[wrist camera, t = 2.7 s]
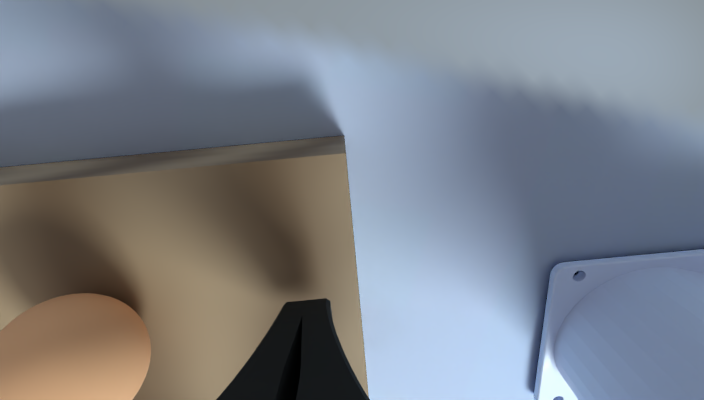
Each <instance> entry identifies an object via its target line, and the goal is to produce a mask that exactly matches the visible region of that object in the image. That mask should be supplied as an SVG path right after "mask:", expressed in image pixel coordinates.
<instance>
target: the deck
mask: <svg viewBox="0 0 704 400" xmlns="http://www.w3.org/2000/svg"><path fill="white" fill-rule="evenodd" d="M78 293H94V294H100V295H106V296H109V297H112V298H115V299H118V300H120V301H122V302H123V303H125V304H127V305H128V306H129V307H131V308H132V309H133V310H134V311H135V312H136V313H137V314H138V315H139V316H140V318H141V319H142V321H143V322H144V324H145V326H146V328H147V331H148V334H149V338H150V343H151V358H150V364H149V368H148V371H147V374H146V377H145V379H144V381H143V383H142V385H141V387H140V389H139V391H138V392H137V394H136V395H135V397H134V398H133V400H216V399H217V398H218V397H219V396H220V395H221V393H222V392H223V391H224V390H225V389H226V387H227V386H228V385H229V384H230V383H231V381H232V380H233V379H234V378H235V376H236V375H237V374H238V372H239V371H240V370H241V369H242V367H243V366H244V365H245V363H246V362H247V361H248V359H249V358H250V357H251V355H252V354H253V353H254V351H255V350H256V348H257V347H258V345H259V344H260V342H261V341H262V339H263V338H264V336H265V335H266V333H267V332H268V330H269V329H270V327H271V326H272V324H273V322H274V321H275V319H276V317H277V316H278V314H279V312H280V311H281V309H282V307H283V306H284V304H285V303H286V302H292V301H303V300H313V299H323V298H327V299H328V300H329V301H330V303H331V310H332V318H333V323H334V327H335V330H336V333H337V336H338V338H339V341H340V343H341V346H342V348H343V351H344V353H345V355H346V357H347V359H348V361H349V363H350V366H351V368H352V370H353V372H354V373H355V375H356V377H357V379H358V381H359V383H360V384H361V386H362V388H363V389H364V391H365V393H366V394H367V396H368V385H367V374H366V363H365V352H364V342H363V331H362V320H361V310H360V299H359V288H358V278H357V267H356V256H355V246H354V235H353V225H352V214H351V203H350V193H349V182H348V171H347V161H346V150H345V139H344V136H333V137H322V138H312V139H301V140H290V141H279V142H268V143H258V144H247V145H236V146H225V147H214V148H204V149H193V150H182V151H171V152H160V153H150V154H139V155H128V156H117V157H106V158H96V159H85V160H74V161H63V162H52V163H42V164H31V165H20V166H9V167H0V331H1V330H2V329H3V328H4V327H5V326H7V325H8V324H9V323H10V322H11V321H12V320H13V319H15V318H16V317H17V316H19V315H20V314H21V313H23V312H25V311H26V310H28V309H30V308H32V307H33V306H35V305H37V304H40V303H42V302H44V301H47V300H49V299H52V298H56V297H59V296H64V295H69V294H78ZM368 398H369V396H368Z"/></svg>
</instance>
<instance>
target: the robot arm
mask: <svg viewBox="0 0 704 400" xmlns="http://www.w3.org/2000/svg"><path fill="white" fill-rule="evenodd" d="M577 271H579V273H578V274H577V275H575V276H573V275H574V274H575V273H576V272H577ZM534 399H535V400H704V249H699V250H688V251H678V252H667V253H656V254H646V255H635V256H624V257H614V258H603V259H592V260H582V261H571V262H563V263H559V264H557V265H556V266H554V268H553V269H552V270H551V273H550V280H549V287H548V294H547V302H546V309H545V316H544V324H543V331H542V338H541V346H540V353H539V360H538V368H537V375H536V382H535V390H534ZM216 400H370V399H369V398H368V396H367V394H366V393H365V391H364V389H363V388H362V386H361V384H360V383H359V381H358V379H357V377H356V375H355V373H354V372H353V370H352V368H351V366H350V363H349V361H348V359H347V357H346V355H345V353H344V351H343V348H342V346H341V343H340V341H339V338H338V336H337V333H336V330H335V327H334V323H333V318H332V310H331V303H330V301H329V300H328V299H327V298H323V299H313V300H303V301H292V302H286V303H285V304H284V306H283V307H282V309H281V311H280V312H279V314H278V316H277V317H276V319H275V321H274V322H273V324H272V326H271V327H270V329H269V330H268V332H267V333H266V335H265V336H264V338H263V339H262V341H261V342H260V344H259V345H258V347H257V348H256V350H255V351H254V353H253V354H252V355H251V357H250V358H249V359H248V361H247V362H246V363H245V365H244V366H243V367H242V369H241V370H240V371H239V372H238V374H237V375H236V376H235V378H234V379H233V380H232V381H231V383H230V384H229V385H228V386H227V387H226V389H225V390H224V391H223V392H222V393H221V395H220V396H219V397H218V398H217V399H216Z"/></svg>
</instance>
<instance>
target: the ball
mask: <svg viewBox="0 0 704 400" xmlns="http://www.w3.org/2000/svg"><path fill="white" fill-rule="evenodd" d="M150 358H151V343H150V338H149V334H148V331H147V328H146V326H145V324H144V322H143V321H142V319H141V318H140V316H139V315H138V314H137V313H136V312H135V311H134V310H133V309H132V308H131V307H129V306H128V305H127V304H125V303H123V302H122V301H120V300H118V299H115V298H112V297H109V296H106V295H100V294H94V293H78V294H69V295H64V296H59V297H56V298H52V299H49V300H47V301H44V302H42V303H40V304H37V305H35V306H33V307H32V308H30V309H28V310H26V311H25V312H23V313H21V314H20V315H19V316H17V317H16V318H15V319H13V320H12V321H11V322H10V323H9V324H8V325H7V326H5V327H4V328H3V329H2V330H1V331H0V400H133V398H134V397H135V395H136V394H137V392H138V391H139V389H140V387H141V385H142V383H143V381H144V379H145V377H146V374H147V371H148V368H149V364H150Z"/></svg>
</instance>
